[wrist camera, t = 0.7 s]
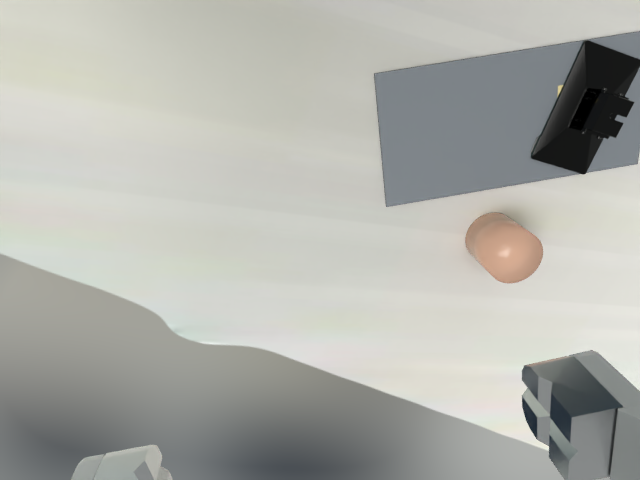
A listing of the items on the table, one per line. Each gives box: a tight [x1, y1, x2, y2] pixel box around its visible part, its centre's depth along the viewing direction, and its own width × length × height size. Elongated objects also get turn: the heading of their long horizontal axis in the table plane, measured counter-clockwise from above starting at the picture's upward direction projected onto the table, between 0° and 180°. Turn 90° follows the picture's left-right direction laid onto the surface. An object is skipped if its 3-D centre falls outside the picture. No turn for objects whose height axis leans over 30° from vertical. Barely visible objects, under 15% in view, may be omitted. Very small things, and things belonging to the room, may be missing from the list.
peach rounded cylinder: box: [465, 213, 543, 283], centre depth 51 cm, size 6×6×6 cm
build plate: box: [531, 40, 640, 174], centre depth 46 cm, size 12×7×5 cm, turn 164°
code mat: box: [374, 31, 640, 207], centre depth 48 cm, size 14×29×1 cm, turn 98°
